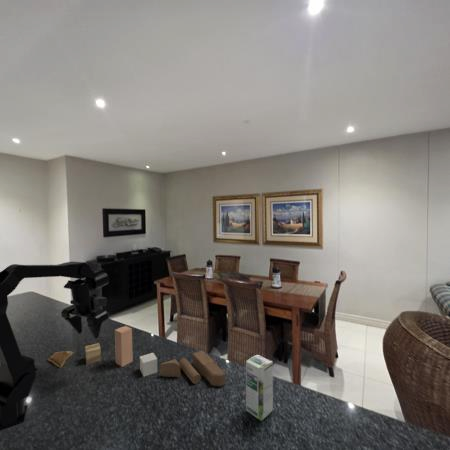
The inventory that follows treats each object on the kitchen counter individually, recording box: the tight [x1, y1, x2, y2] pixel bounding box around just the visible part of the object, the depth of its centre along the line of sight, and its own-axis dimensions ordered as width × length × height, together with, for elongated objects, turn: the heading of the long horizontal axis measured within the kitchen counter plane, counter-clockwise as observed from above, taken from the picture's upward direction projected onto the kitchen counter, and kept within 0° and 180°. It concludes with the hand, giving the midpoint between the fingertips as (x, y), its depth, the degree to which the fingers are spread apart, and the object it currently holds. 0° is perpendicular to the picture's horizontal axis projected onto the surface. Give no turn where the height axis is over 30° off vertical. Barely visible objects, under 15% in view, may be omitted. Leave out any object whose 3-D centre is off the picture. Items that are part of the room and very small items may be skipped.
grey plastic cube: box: [139, 352, 159, 377], centre depth 91 cm, size 5×5×5 cm
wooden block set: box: [160, 350, 227, 387], centre depth 86 cm, size 17×6×18 cm
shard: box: [47, 350, 73, 369], centre depth 98 cm, size 11×8×2 cm
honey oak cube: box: [84, 342, 102, 365], centre depth 99 cm, size 5×5×5 cm
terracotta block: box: [114, 325, 133, 368], centre depth 97 cm, size 4×4×13 cm
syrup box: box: [245, 354, 274, 422], centre depth 71 cm, size 6×6×14 cm
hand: (88, 335), depth 92 cm, fingers open, 9 cm apart
